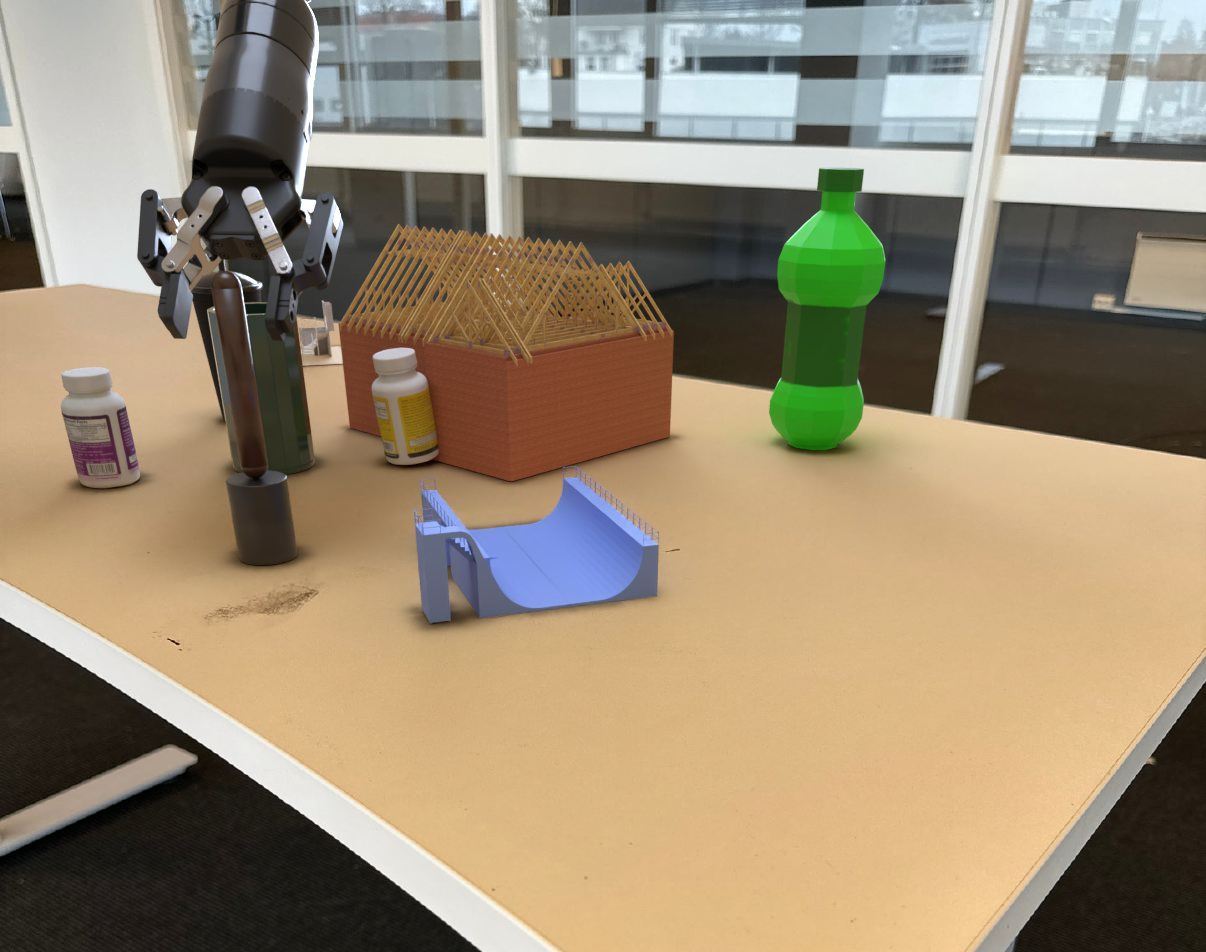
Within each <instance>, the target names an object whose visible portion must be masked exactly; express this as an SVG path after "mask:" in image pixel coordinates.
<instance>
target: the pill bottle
mask: <svg viewBox="0 0 1206 952" xmlns="http://www.w3.org/2000/svg"><path fill="white" fill-rule="evenodd" d="M60 376H61V381H62V387H63V388H64V390H65V391H66V392H67V393H68V394H67V395H66V396H64V397H63V398H62V400H61V403H60V411H61V416H62V420H63V423H64V427H65V431H66V435H67V438H68V439H67V440H68V443H69V447H70V451H71V456H72V459H73V463H74V467H75V470H76V474H77V477H78V480H79V482H80V484H81V485H82V486H85V487H87V488H93V489H109V488H117V487H119V488H120V487H123V486H128V485H132V484H134V483H135V482H137V481H138V480H139V479H140V478H141V470H140V464H139V459H138V455H137V450H136V446H135V441H134V436H133V433H132V428H131V424H130V419H129V415H128V410H127V406H126V402H125V400H124V399H123V397H122V395H120V394H119V393H117V392H116V391H113V390H111V388H112V387H113V380H112V375H111V372H110V370H109V369H108V368H105V367H100V366H99V367H98V366H97V367H96V366H95V367H94V366H89V367H87V366H86V367H77V368H72V369H71V368H70V369H67V370H65V371H64V370H63V371H62V372H61V373H60Z"/></svg>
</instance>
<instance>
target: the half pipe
mask: <svg viewBox="0 0 1206 952" xmlns="http://www.w3.org/2000/svg"><path fill="white" fill-rule="evenodd" d="M565 468H567V466H564V467H562V490H561V494H560V498H559V501H558V502H557V504H556V505H555V507H554V509H553V510H552V511H550V513H549V514H548V515H547V516H545V517H544V518H542V519H540V520H538V521H535V522H532V523H526V524H515V525H506V526H498V527H488V528H479V529H478V528H477V529H468V528H467V527H466V526H465V525H464V523H463V521H462V520H461V519H460V518H459V517H458V516H457V515H456V512H454V511H453V510H452V508H451V507H450V506H449V504H448V503H447V502H446V501H445V499H444V498H443V497H442V496H441V495H440V493H439V492H438V491H437V489H436V487H434V489H430V490H429V489H428V488H427V487H428V486H429V484H425V483H424V482H423V480H422V479H420V481H419V483H421V485H420V495H421V496H420V497H421V509H419V511H422V515H418V514H417V512H416V511H417V509H414V510H413V514H414V515H413V516H414V531H415V544H416V555H417V568H418V577H419V579H418V580H419V591H420V602H421V603H420V604H421V610H422V612H423V614H424V616H425V617H426V619H427V621H428V622H429V625H432V624H433V623H441V622H442V623H443V622H449V623H451V620H452V618H451V603H450V588H449V575H448V567H449V566H450V574H451V579H452V580H453V581H454V583H455V584H456V585H457V587H458V589H459V590H460V591H461V593H462V595H463V596H464V598H466V600H467V602H468V604H470V606H471V608H472V609H473V611H474V612H475V613H476V615H477V616H478V618H479V619H487V618H495V617H502V616H503V617H505V616H512V615H518V614H527V613H534V612H543V611H551V610H558V609H565V608H566V609H567V608H575V607H581V606H589V605H598V604H605V603H614V602H621V601H629V600H635V599H644V598H653V597H658V586H659V585H658V583H659V580H658V579H659V554H660V552H659V549H660V544H659V543H658V542H656V541H655V539H656V540H657V541H659V539H660V538H659V535H660V532H659V531H658V530H656V529H655V528H654V527H653V526H651V525H650V524H649V523H648V522H647V521H645V520H644V519H643V518H642V517H641V516H639V515H638V514H637V513H636V512H634V511H633V510H631V509H630V508H629V507H628V506H627V505H625V504H624V503H623V502H622V501H620V500H619V498H617V497H615V495H613V494H612V493H610V492H609V491H608V490H606V489H605V488H604V487H603V486H602V485H600V483H598V482H597V481H595V479H593V478H592V477H590V476H589V475H588V474H587V473H586V472H584V471H583V470H582V469H581V468H579V467H578V466H577V465H574V466H572V465H571V468H576V469H579V470H580V473H579V472H578V471H575V476H571V477H565V474H569V473H571V471H568V472H567V471H566V472H564V469H565ZM582 473H584V476H582ZM577 475H579V476H580V478H579V477H578V476H577ZM587 477H588V478H589V480H587ZM582 478H583V479H584V481H583V480H582ZM431 480H434V482H436V478H429V479H425V481H431ZM591 481H593V482H594V485H593V487H594V490H593V488H592V482H591ZM587 482H588V483H589V485H587ZM432 486H436V483H434V484H432ZM597 486H599V489H598V488H597ZM424 488H426V489H424ZM602 489H603V490H604V493H603V492H602ZM597 490H598V492H599V494H598V493H597ZM607 493H608V494H610V496H611V497H613V498H615V502H614V500H612V498H609V496H607ZM602 494H603V495H604V498H605V499H604V498H603V497H602ZM607 499H609V500H610V502H611V503H614V505H615V507H614V506H613V505H612V504H611V503H609V502H608V501H607ZM618 502H620V504H621V505H622V506H625V507H626V508H627V511H625V510H624V509H623V507H620V505H618ZM618 507H619V508H620V509H621V512H620V511H619V510H618ZM629 510H630V511H631V512H632V516H631V514H629ZM623 512H625V514H626V516H625V515H624V514H623ZM635 515H636V516H637V517H638V521H637V520H636V518H635ZM629 516H630V517H631V519H632V521H631V520H630V519H629ZM421 518H422V519H421ZM641 520H642V521H643V522H644V525H645V526H644V525H643V524H641ZM635 521H636V522H637V523H638V526H637V525H636V524H635ZM648 525H649V527H651V531H650V530H649V529H647V526H648ZM641 527H642V528H644V531H643V530H642V529H641ZM653 530H654V531H655V532H653ZM650 534H651V537H650V536H649V535H650ZM655 534H657V536H656V535H655ZM653 537H655V539H654V538H653Z"/></svg>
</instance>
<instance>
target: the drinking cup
mask: <svg viewBox="0 0 1206 952" xmlns="http://www.w3.org/2000/svg"><path fill="white" fill-rule="evenodd" d="M217 268H218V270H216V271H213V272H212V273H211V274H209V275H207V274H204V275H203V277H202V278H201V279H200V280H199V282H198V283H197V284H196V286H195V287H194V288H193V290H192V291H191V293H192V295H193V300H192V306H193V309H194V312H195V316H196V321H197V324H198V327H199V328H198V329H199V331H200V335H201V338H202V339H201V340H202V343H203V347H204V351H205V355H206V358H207V359H206V360H207V363H208V366H209V370H210V374H211V378H212V383H213V386H214V390H215V394H216V398H217V401H218V405H219V409H220V413H221V417H222V420H223V422H226V421H225V415H224V409H223V403H222V397H221V391H220V385H219V379H218V373H217V367H216V361H215V355H214V349H213V343H212V337H211V331H210V325H209V319H208V313H207V309H209V308H211V307H214V302H213V295H212V289H211V281H212V278H213V276H214V275H215V274H216V273H218V272H220V271H227V269H226V263H225V260H221V262H220V263H219V264H218V266H217ZM228 271H229V272H231V273H233V274H234V275H236V276H237V277H238V279H239V280H240V283H241V286H242V292H243V299H244V303H252V302H255V303H256V302H262V292H261V290H263V288H264V286H263V285H264V284H263V282H261V281H258V280H255V279H254V278H252V277H250V276H248V275H247V274H244V273H241V272H237V271H233V270H228Z"/></svg>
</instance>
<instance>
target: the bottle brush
mask: <svg viewBox="0 0 1206 952" xmlns="http://www.w3.org/2000/svg"><path fill="white" fill-rule="evenodd" d="M229 271H230V270H226V271H220V272H218V273H216V274H215V275H214V276H213V278H212V281H211V289H212V295H213V302H214V308H215V314H216V320H217V326H218V332H219V338H220V344H221V351H222V357H223V363H224V369H225V375H226V381H227V387H228V394H229V400H230V406H231V412H232V418H233V424H234V430H235V437H236V443H237V449H238V455H239V461H240V467H241V469H242V471H243V472H241V473H240V472H237V473H233V474H232V475H229V476H228V477H227V478H226V479H225V485H226V491H227V496H228V502H229V503H228V504H229V509H230V513H231V520H232V521H231V522H232V526H233V533H234V538H235V543H236V549H237V555H238V559H239V561H240V562H242V563H243V564H247V565H252V566H253V565H254V566H272V565H279V564H283V563H287V562H290V561H292V560H294V559H295V558H296V557H297V555H298V553H299V552H298V545H297V539H296V532H295V526H294V517H293V511H292V503H291V496H290V490H289V482H288V476H287V474H286V475H285V474H284V473H281V472H277V471H270V470H268V459H267V453H266V446H265V439H264V432H263V426H262V419H261V412H260V406H259V399H258V392H257V386H256V379H255V372H254V366H253V359H252V352H251V346H250V339H249V332H248V326H247V319H246V312H245V306H244V299H243V292H242V286H241V283H240V280H239V279H238V277H237V276H236V275H234V274H233V273H231V272H229Z"/></svg>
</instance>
